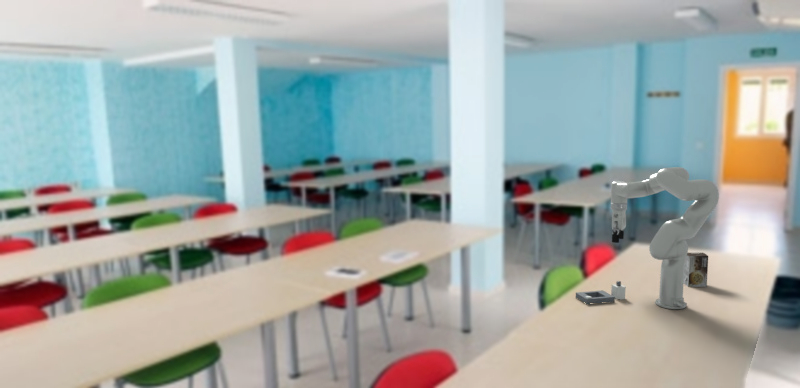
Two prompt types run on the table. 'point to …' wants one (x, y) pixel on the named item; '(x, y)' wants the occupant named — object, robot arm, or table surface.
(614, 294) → the plug
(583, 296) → the socket plate
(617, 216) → the robot arm
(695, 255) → the coffee box
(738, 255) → the table surface
